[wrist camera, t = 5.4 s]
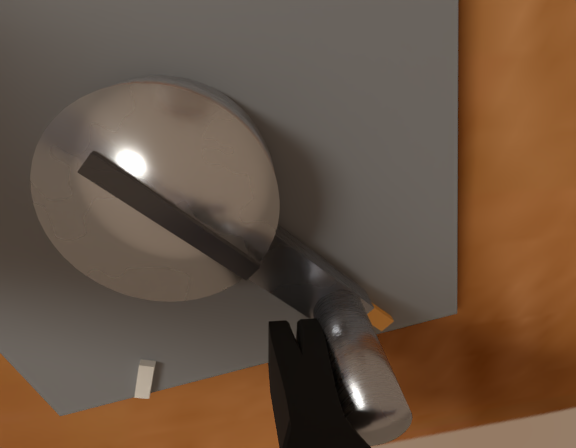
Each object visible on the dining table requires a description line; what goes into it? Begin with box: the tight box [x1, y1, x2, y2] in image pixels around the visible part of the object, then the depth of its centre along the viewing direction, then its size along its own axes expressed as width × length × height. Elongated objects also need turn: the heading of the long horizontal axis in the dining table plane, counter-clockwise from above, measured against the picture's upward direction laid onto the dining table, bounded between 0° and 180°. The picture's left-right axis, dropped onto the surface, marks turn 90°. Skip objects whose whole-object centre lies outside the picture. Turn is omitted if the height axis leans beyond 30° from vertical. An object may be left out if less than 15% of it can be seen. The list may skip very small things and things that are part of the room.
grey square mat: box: [0, 0, 458, 416], centre depth 11 cm, size 18×18×1 cm
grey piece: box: [30, 75, 412, 446], centre depth 9 cm, size 11×6×5 cm, turn 47°
